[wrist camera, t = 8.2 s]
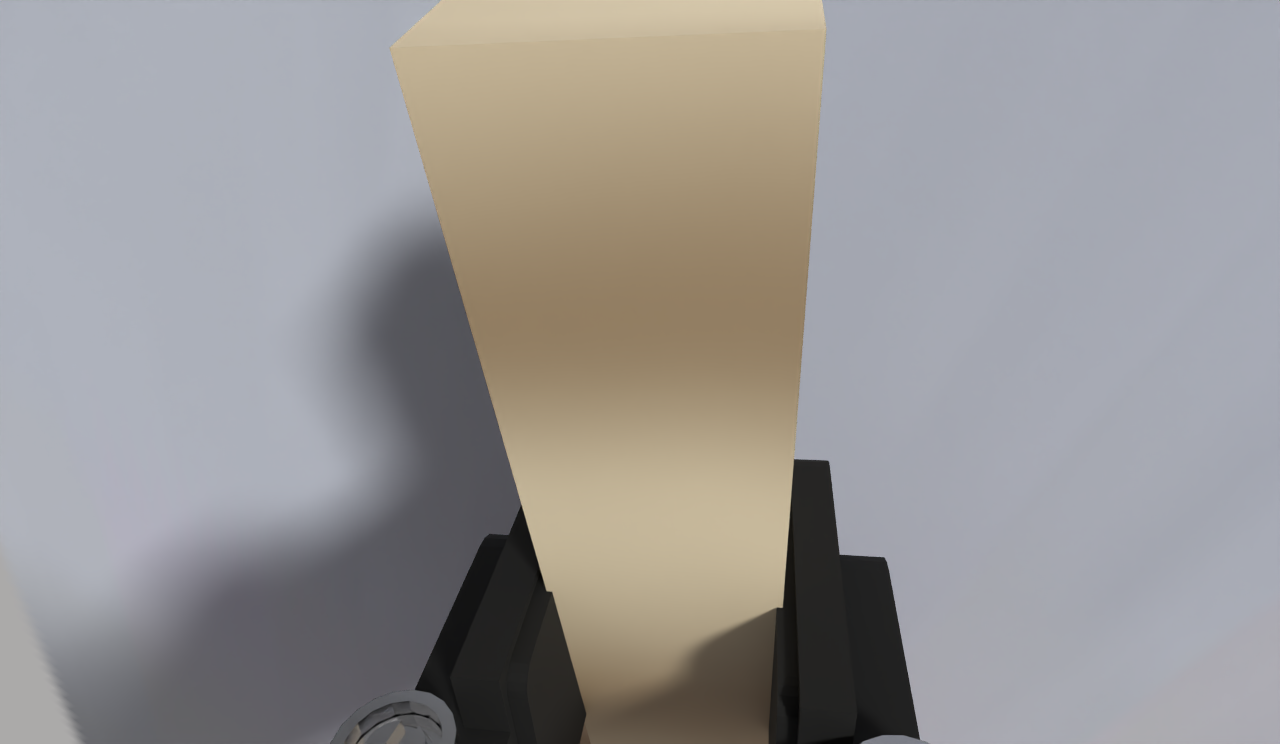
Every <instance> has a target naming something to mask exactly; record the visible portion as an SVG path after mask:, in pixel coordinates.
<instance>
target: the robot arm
mask: <svg viewBox="0 0 1280 744" xmlns="http://www.w3.org/2000/svg"><path fill="white" fill-rule="evenodd" d="M585 718H586V710H585V707H584V703H583V700H582V696H581V693H580V689H579V685H578V682H577V678H576V675H575V671H574V668H573V664H572V661H571V657H570V653H569V650H568V646H567V643H566V639H565V636H564V632H563V628H562V625H561V621H560V618H559V614H558V611H557V607H556V603H555V600H554V596H553V593H552V592H550V591H546V587H545V584H544V580H543V577H542V573H541V570H540V567H539V563H538V560H537V556H536V553H535V549H534V546H533V542H532V539H531V535H530V532H529V529H528V525H527V522H526V518H525V515H524V511H523V508H522V505H521V507H520V510H519V512H518V514H517V517H516V519H515V522H514V524H513V526H512V529H511V531H510V534H509V535H495V534H489V535H488V536H487V537H485V538H484V540H483V542H482V544H481V545H480V547H479V549H478V552H477V554H476V556H475V558H474V560H473V563H472V565H471V567H470V569H469V571H468V574H467V576H466V578H465V580H464V582H463V585H462V587H461V589H460V591H459V594H458V596H457V598H456V600H455V602H454V605H453V607H452V609H451V611H450V613H449V616H448V618H447V620H446V622H445V624H444V627H443V629H442V631H441V633H440V635H439V638H438V640H437V642H436V644H435V646H434V649H433V651H432V653H431V655H430V657H429V660H428V662H427V664H426V666H425V668H424V671H423V673H422V675H421V677H420V679H419V682H418V684H417V686H416V688H415V690H406V691H396V692H392V693H389V694H387V695H384V696H381V697H378V698H375V699H374V700H372V701H371V702H369V703H367V704H366V705H364V706H363V707H361V708H359V709H358V710H357V711H356V712H355V713H354V714H353V715H351V716H350V717H349V718H348V719H347V720H346V721H345V722H344V723H343V724H342V725H341V727H340V729H339V730H338V732H337V733H336V735H335V737H334V738H333V740H332V741H331V743H330V744H580V740H581V736H582V732H583V727H584V723H585ZM769 744H929V743H927V742H926V741H922V740H920V737H919V732H918V726H917V721H916V715H915V710H914V705H913V699H912V694H911V688H910V683H909V677H908V672H907V666H906V661H905V656H904V650H903V645H902V639H901V634H900V628H899V623H898V618H897V612H896V607H895V601H894V596H893V590H892V585H891V579H890V574H889V569H888V565H887V562H886V560H885V558H884V557H868V556H851V555H839V546H838V537H837V528H836V519H835V510H834V501H833V492H832V483H831V474H830V465H829V461H823V460H799V459H794V465H793V478H792V491H791V504H790V518H789V531H788V544H787V557H786V571H785V584H784V597H783V608H778V607H777V610H776V625H775V640H774V655H773V671H772V686H771V701H770V716H769Z"/></svg>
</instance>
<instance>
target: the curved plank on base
mask: <svg viewBox="0 0 1280 744" xmlns="http://www.w3.org/2000/svg"><path fill="white" fill-rule="evenodd" d="M825 40H826V24H825V18H824V11H823V5H822V0H441V1H440V2H439V3H438V4H437V5H436V6H435V7H434V8H433V9H431V10H430V11H429V12H428V13H427V14H426V15H425V16H424V17H423V18H422V19H420V20H419V21H418V22H417V23H416V24H415V25H414V26H413V27H412V28H411V29H410V30H408V31H407V32H406V33H405V34H404V35H403V36H402V37H401V38H400V39H399V40H398V41H396V42H395V43H394V44H393V45H392V46H391V47H390V51H391V55H392V58H393V62H394V65H395V69H396V72H397V75H398V79H399V82H400V86H401V89H402V93H403V96H404V100H405V103H406V107H407V110H408V114H409V117H410V120H411V124H412V127H413V131H414V134H415V138H416V141H417V145H418V148H419V152H420V155H421V158H422V162H423V165H424V169H425V172H426V176H427V179H428V183H429V186H430V190H431V193H432V197H433V200H434V203H435V207H436V210H437V214H438V217H439V221H440V224H441V228H442V231H443V235H444V238H445V241H446V245H447V248H448V252H449V255H450V259H451V262H452V266H453V269H454V273H455V276H456V280H457V283H458V286H459V290H460V293H461V297H462V300H463V304H464V307H465V311H466V314H467V318H468V321H469V324H470V328H471V331H472V335H473V338H474V342H475V345H476V349H477V352H478V356H479V359H480V363H481V366H482V369H483V373H484V376H485V380H486V383H487V387H488V390H489V394H490V397H491V401H492V404H493V407H494V411H495V414H496V418H497V421H498V425H499V428H500V432H501V435H502V439H503V442H504V446H505V449H506V452H507V456H508V459H509V463H510V466H511V470H512V473H513V477H514V480H515V484H516V487H517V490H518V494H519V497H520V501H521V504H522V508H523V511H524V515H525V518H526V522H527V525H528V529H529V532H530V535H531V539H532V542H533V546H534V549H535V553H536V556H537V560H538V563H539V567H540V570H541V573H542V577H543V580H544V584H545V587H546V591H550V592H552V593H553V596H554V600H555V603H556V607H557V611H558V614H559V618H560V621H561V625H562V628H563V632H564V636H565V639H566V643H567V646H568V650H569V653H570V657H571V661H572V664H573V668H574V671H575V675H576V678H577V682H578V685H579V689H580V693H581V696H582V700H583V703H584V707H585V710H586V718H585V723H584V727H583V732H582V736H581V740H580V744H769V716H770V701H771V686H772V671H773V655H774V640H775V625H776V610H777V607H778V608H783V597H784V584H785V571H786V557H787V544H788V531H789V518H790V504H791V491H792V478H793V465H794V451H795V438H796V425H797V411H798V398H799V385H800V372H801V358H802V345H803V332H804V319H805V305H806V292H807V279H808V266H809V252H810V239H811V226H812V213H813V199H814V186H815V173H816V160H817V146H818V133H819V120H820V107H821V93H822V80H823V67H824V54H825Z"/></svg>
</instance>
